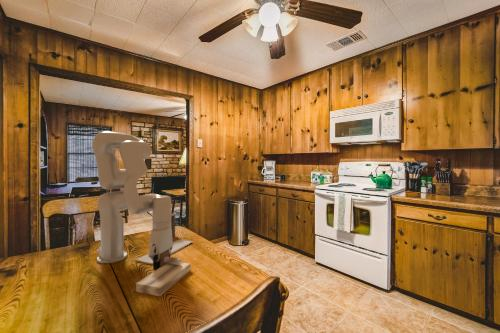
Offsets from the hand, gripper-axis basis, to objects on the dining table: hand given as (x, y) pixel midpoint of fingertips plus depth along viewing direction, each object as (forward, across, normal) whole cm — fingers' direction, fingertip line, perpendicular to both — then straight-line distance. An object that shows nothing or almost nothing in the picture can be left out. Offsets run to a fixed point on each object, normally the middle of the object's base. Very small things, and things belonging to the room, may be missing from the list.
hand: (162, 266), depth 101 cm
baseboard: (+2, -19, -12) cm, 22 cm away
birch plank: (+2, +7, +7) cm, 10 cm away
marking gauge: (+2, 0, +3) cm, 4 cm away
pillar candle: (+2, -38, -25) cm, 46 cm away
